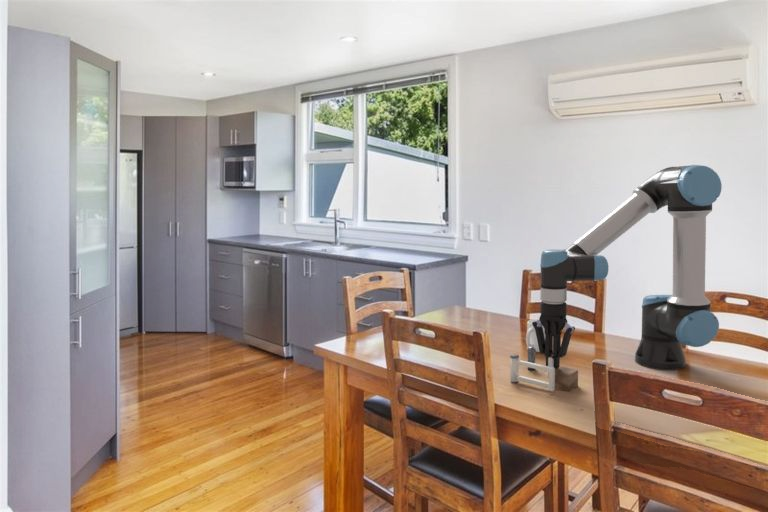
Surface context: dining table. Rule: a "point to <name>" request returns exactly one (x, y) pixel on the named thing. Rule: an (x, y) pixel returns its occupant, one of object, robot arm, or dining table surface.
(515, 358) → the gate
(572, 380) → the block
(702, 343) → the robot arm
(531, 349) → the latch post
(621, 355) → the dining table surface
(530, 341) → the mug
